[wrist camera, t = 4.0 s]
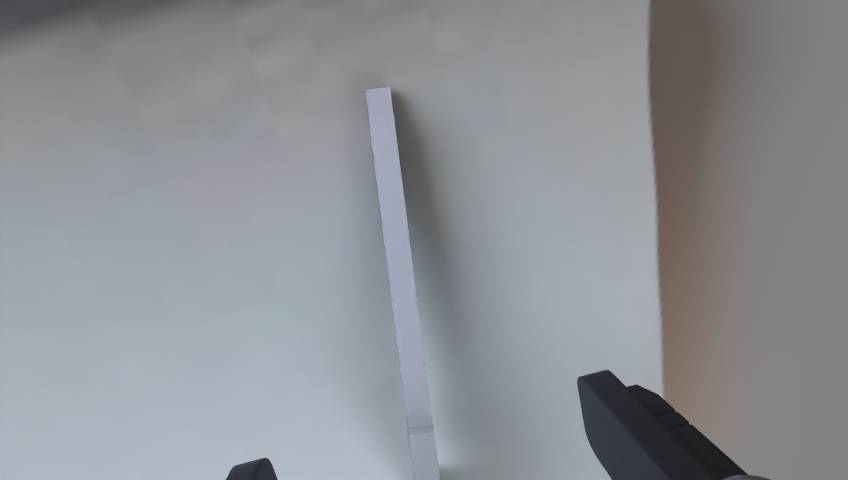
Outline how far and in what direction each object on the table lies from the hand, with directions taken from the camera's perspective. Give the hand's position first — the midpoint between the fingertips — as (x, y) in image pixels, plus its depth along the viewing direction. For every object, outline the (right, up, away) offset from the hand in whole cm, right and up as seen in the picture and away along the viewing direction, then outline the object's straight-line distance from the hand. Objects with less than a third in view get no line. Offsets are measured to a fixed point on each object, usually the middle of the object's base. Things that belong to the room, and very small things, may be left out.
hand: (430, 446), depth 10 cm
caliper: (-1, +2, +9) cm, 9 cm away
